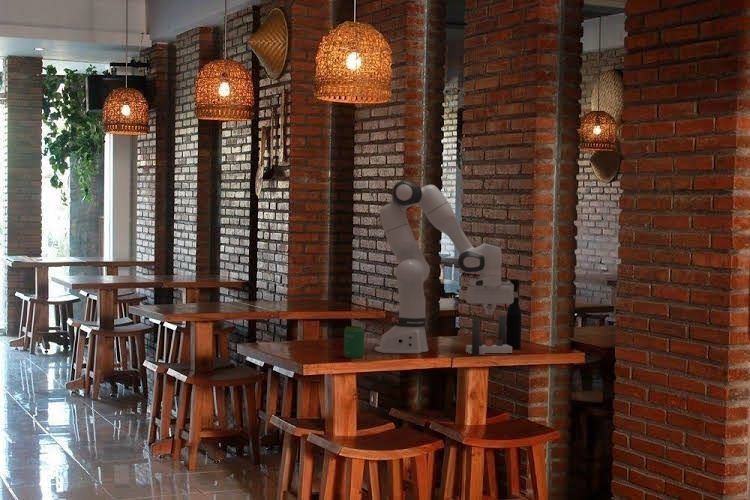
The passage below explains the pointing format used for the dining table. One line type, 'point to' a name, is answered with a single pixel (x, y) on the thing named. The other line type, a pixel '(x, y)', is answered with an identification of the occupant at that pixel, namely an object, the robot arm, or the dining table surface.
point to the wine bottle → (514, 320)
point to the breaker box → (491, 349)
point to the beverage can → (354, 342)
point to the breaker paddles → (489, 342)
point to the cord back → (502, 328)
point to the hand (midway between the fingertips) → (489, 314)
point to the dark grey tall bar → (475, 336)
